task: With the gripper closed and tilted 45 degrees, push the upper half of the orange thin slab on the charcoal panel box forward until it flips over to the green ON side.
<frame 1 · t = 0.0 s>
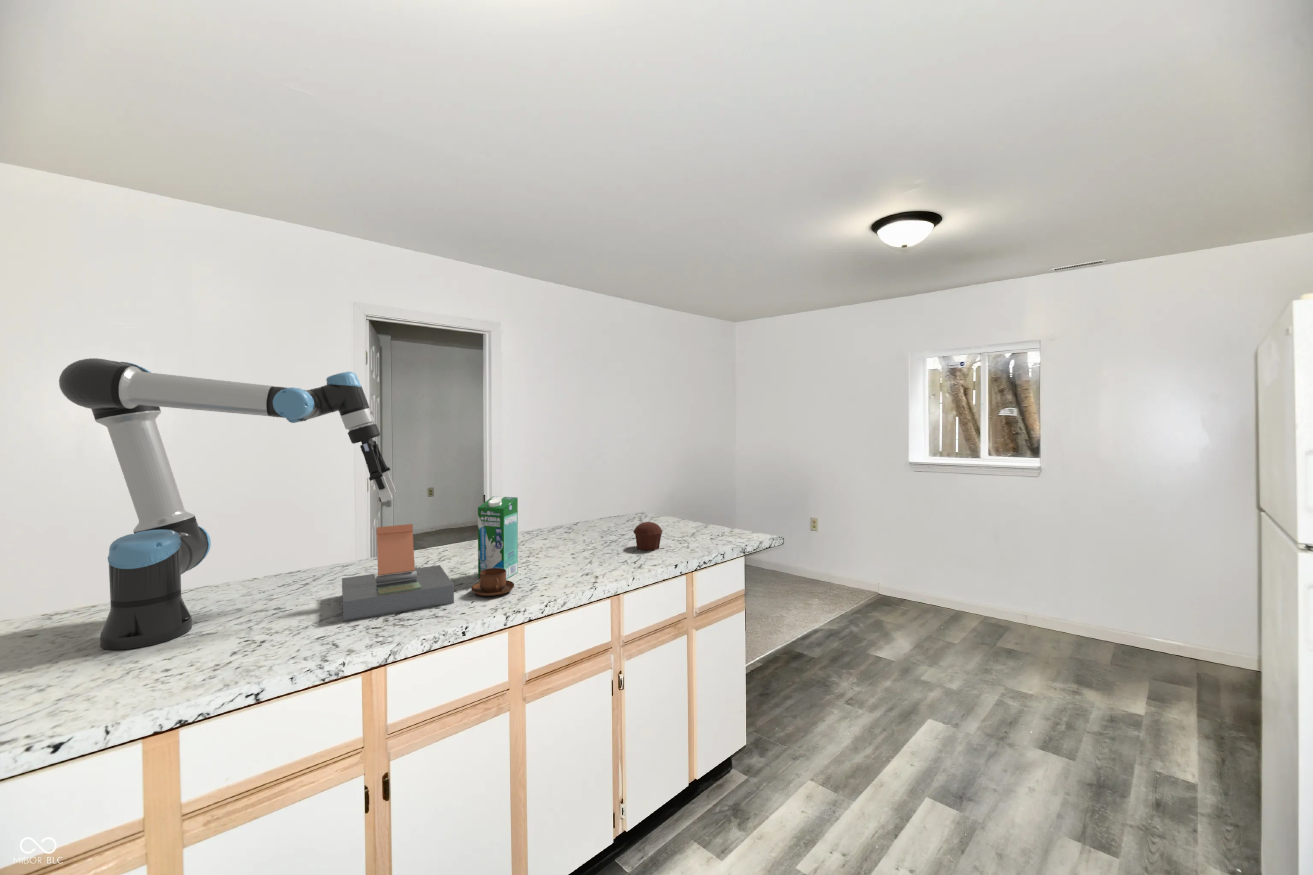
hand: (389, 496, 150), 28 cm above the worktop, tool tilted 20°, fingers open, 13 cm apart
panel box: (397, 599, 145), on the worktop
cup and saucer: (493, 593, 152), on the worktop
milk carton: (498, 576, 168), on the worktop
muffin: (647, 548, 205), on the worktop
orange thin slab: (395, 553, 147), point 12 cm above the worktop, hinge at -20.0°
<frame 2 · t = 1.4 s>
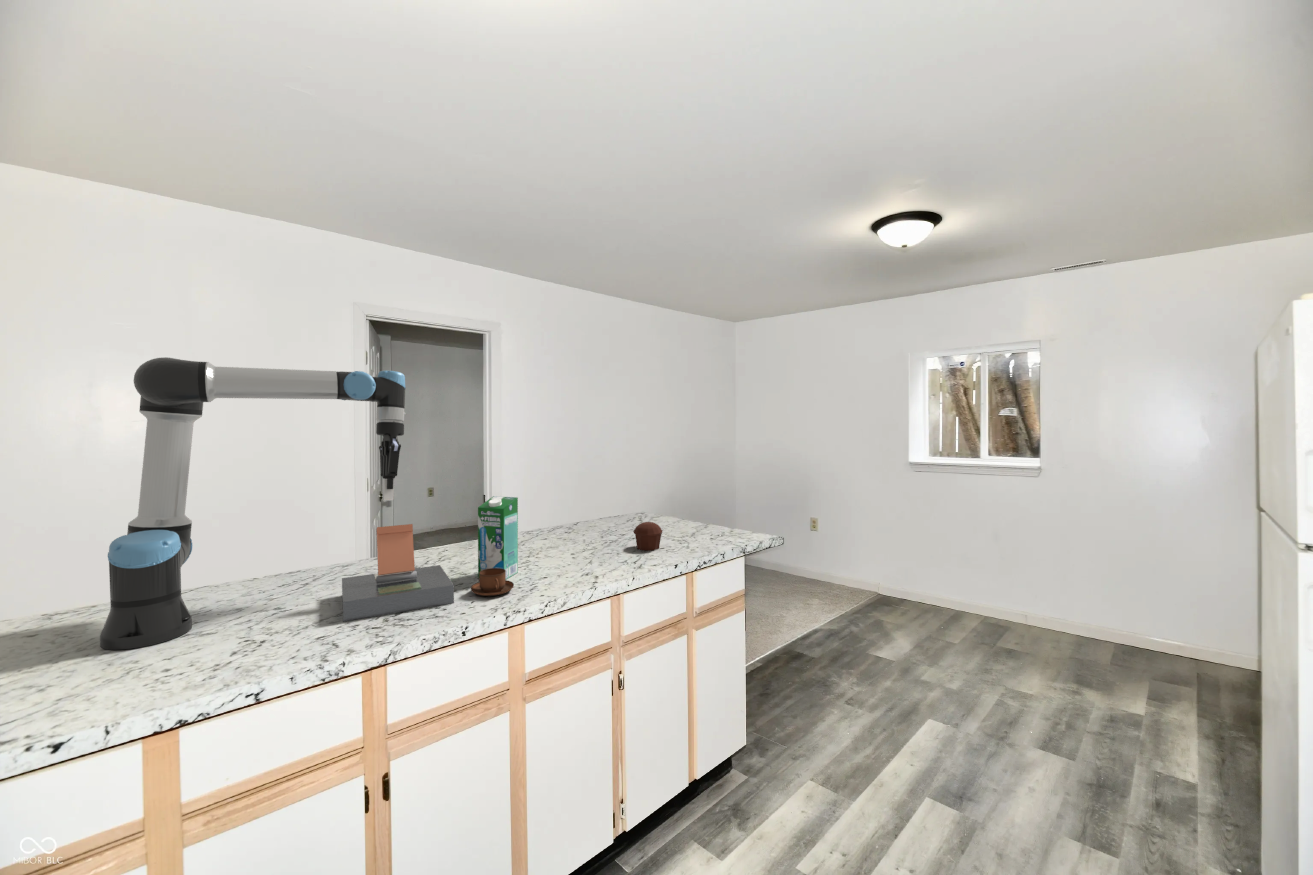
hand: (388, 500, 157), 26 cm above the worktop, tool pointing down, fingers closed
nothing on the worktop moved.
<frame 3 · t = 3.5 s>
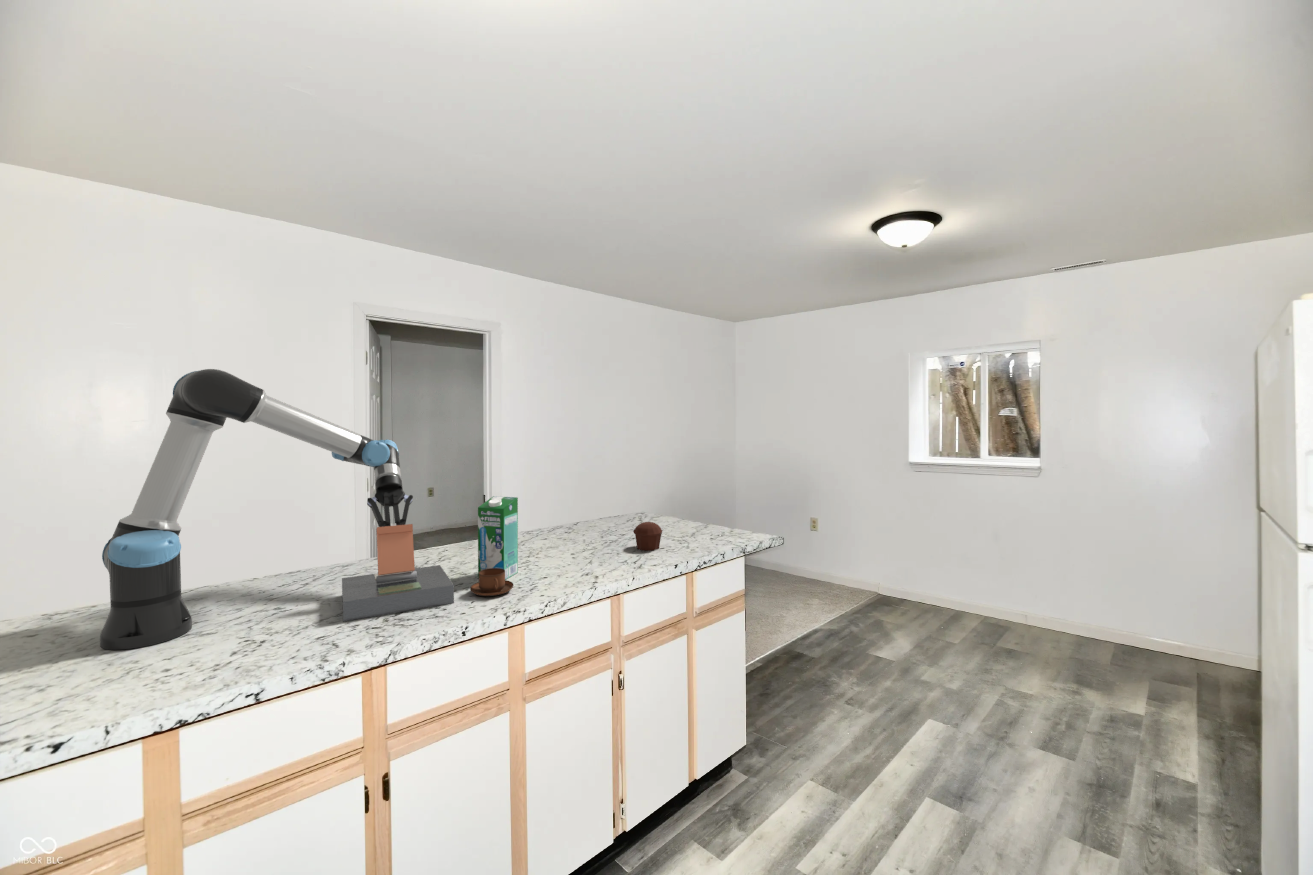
hand: (394, 544, 153), 14 cm above the worktop, tool tilted 45°, fingers closed
nothing on the worktop moved.
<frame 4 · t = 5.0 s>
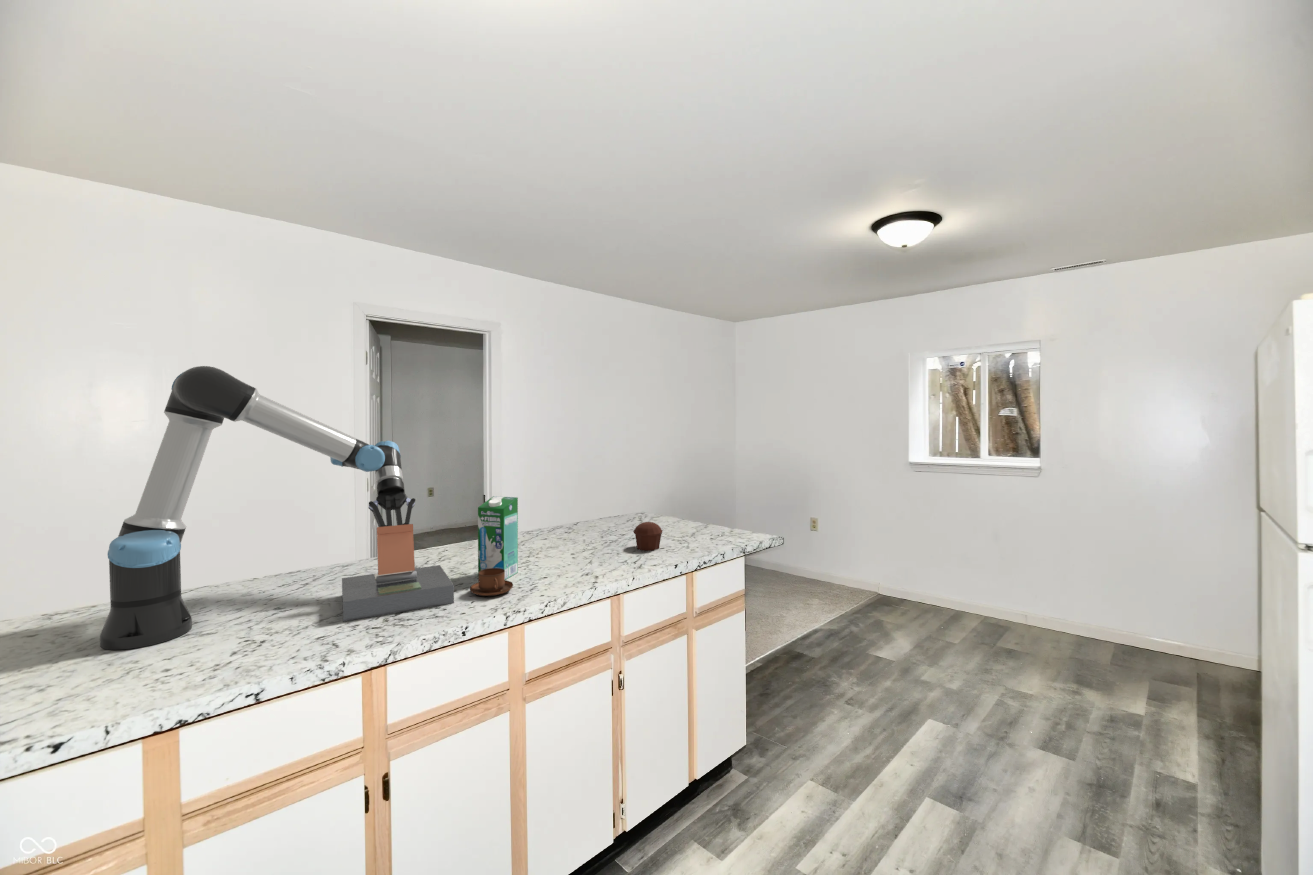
hand: (397, 549, 149), 13 cm above the worktop, tool tilted 45°, fingers closed
orange thin slab: (395, 553, 146), point 13 cm above the worktop, hinge at -15.4°, touching gripper
everything else where it was.
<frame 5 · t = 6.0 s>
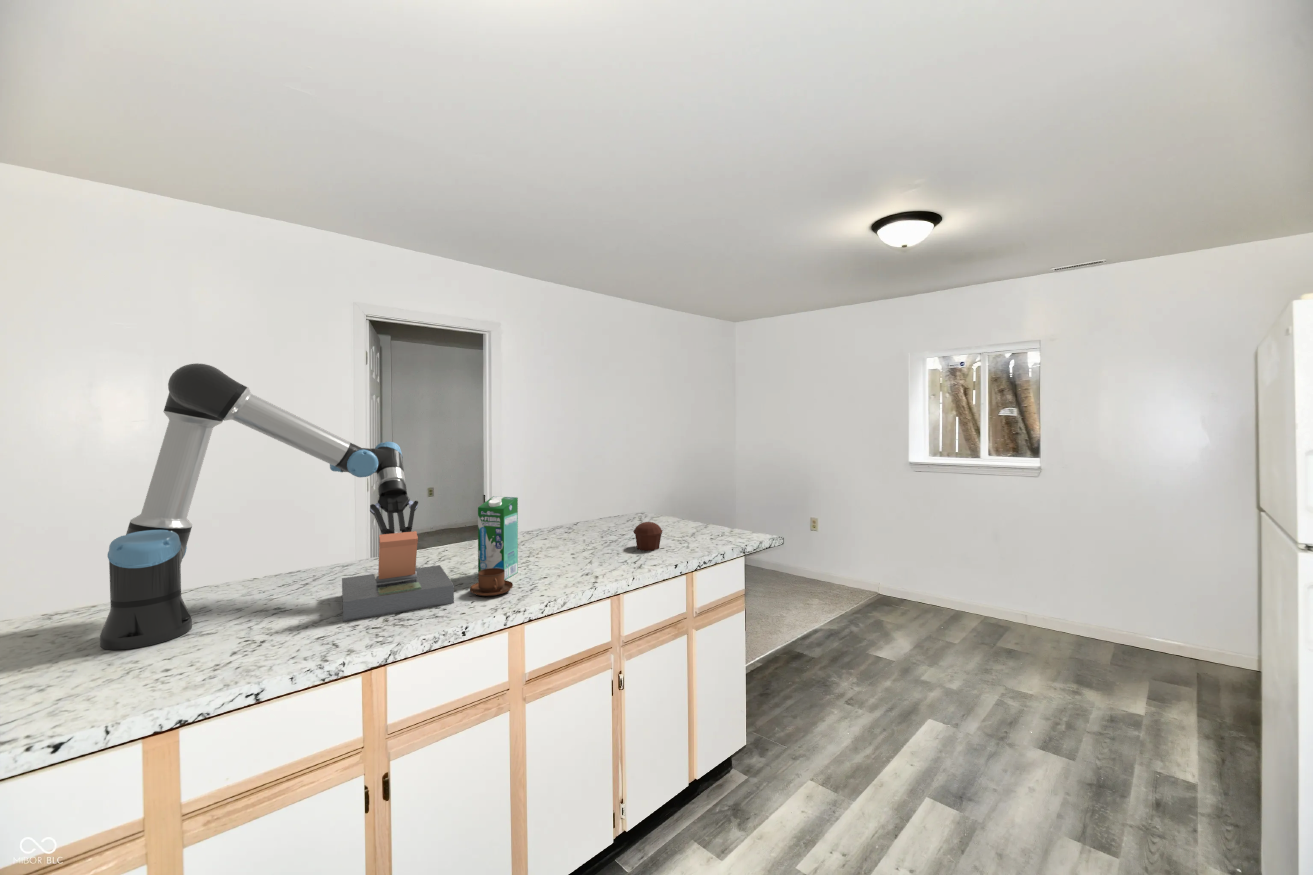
hand: (400, 553, 144), 13 cm above the worktop, tool tilted 45°, fingers closed
orange thin slab: (397, 558, 142), point 12 cm above the worktop, hinge at 26.8°, touching gripper
everything else where it was.
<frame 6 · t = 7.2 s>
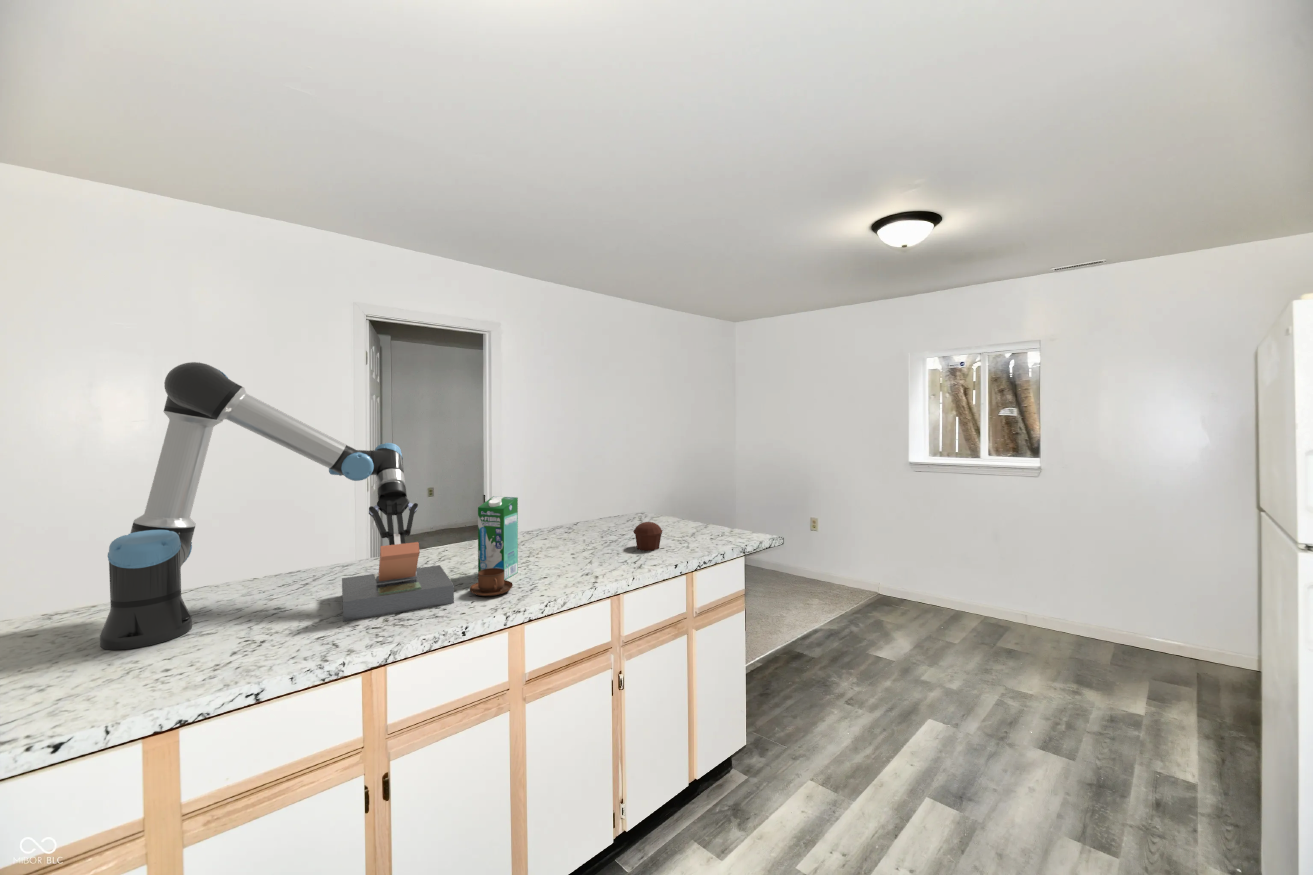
hand: (398, 557, 141), 13 cm above the worktop, tool tilted 45°, fingers closed
orange thin slab: (398, 564, 141), point 11 cm above the worktop, hinge at 44.7°, touching gripper
everything else where it was.
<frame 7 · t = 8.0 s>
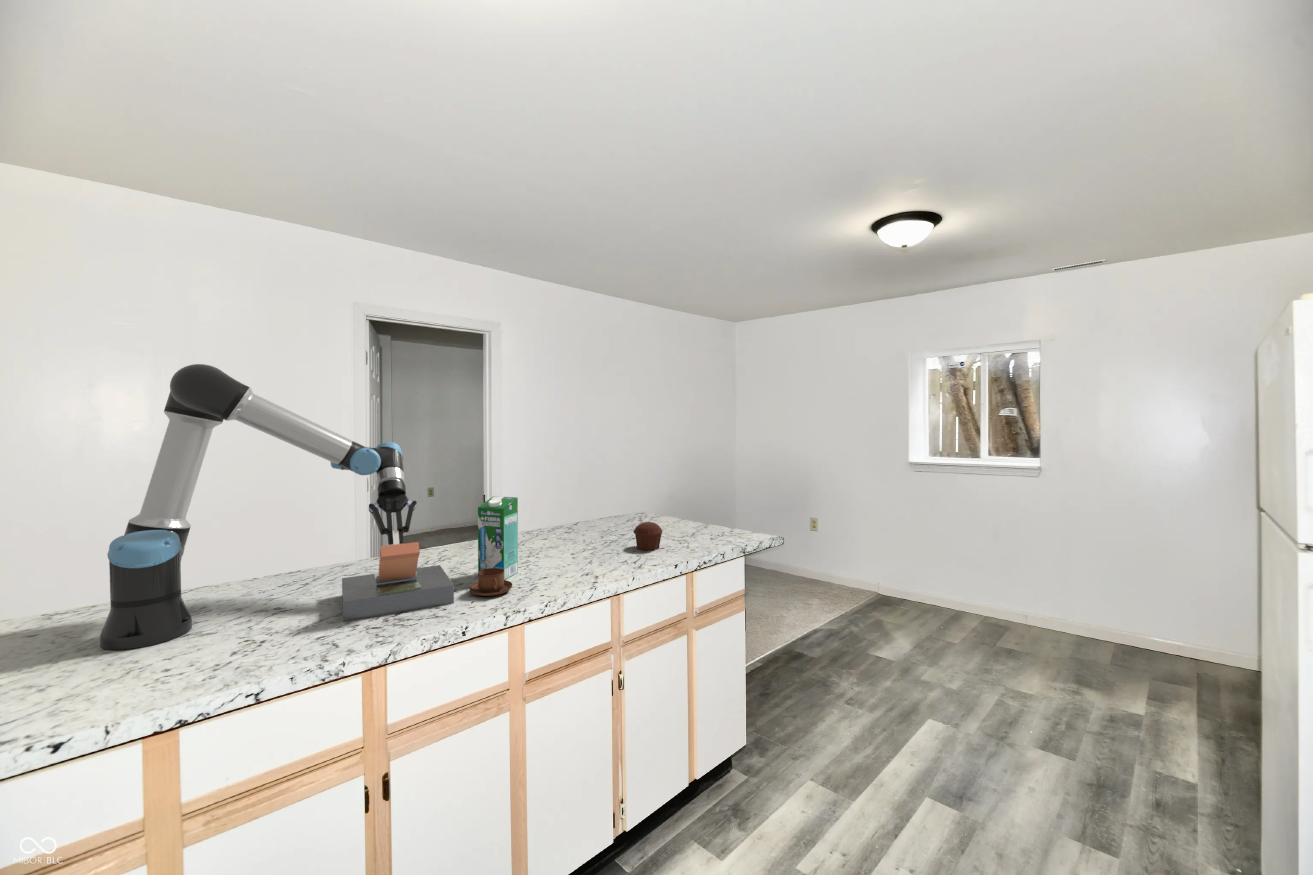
hand: (396, 552, 145), 13 cm above the worktop, tool tilted 45°, fingers closed
orange thin slab: (398, 564, 141), point 11 cm above the worktop, hinge at 44.7°
everything else where it was.
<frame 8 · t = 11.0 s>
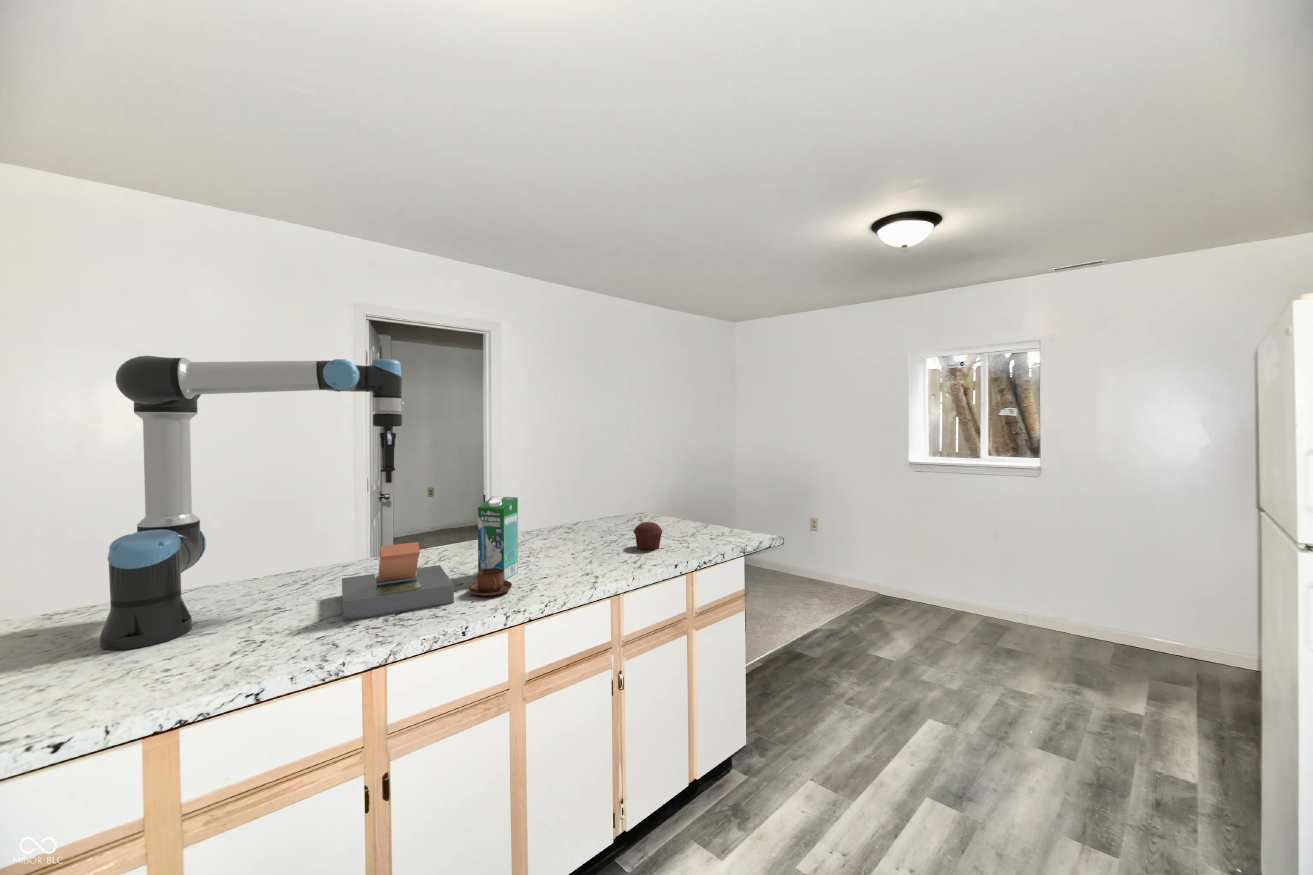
hand: (388, 493, 152), 28 cm above the worktop, tool pointing down, fingers closed
nothing on the worktop moved.
at the end: orange thin slab at +45° (first picture: -20°) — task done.
